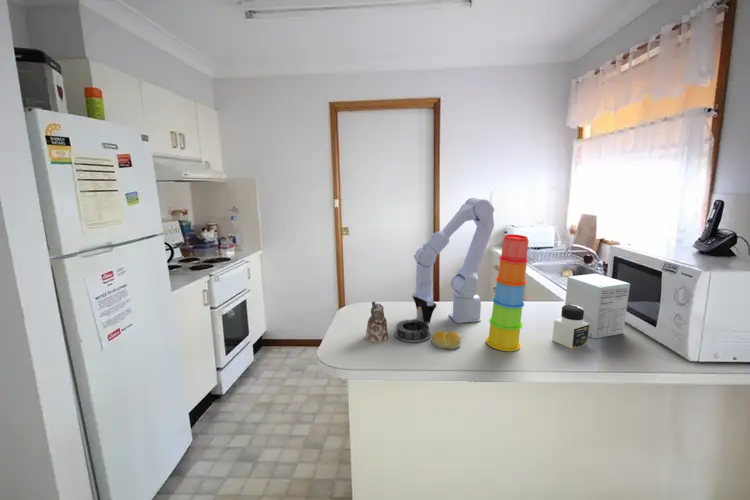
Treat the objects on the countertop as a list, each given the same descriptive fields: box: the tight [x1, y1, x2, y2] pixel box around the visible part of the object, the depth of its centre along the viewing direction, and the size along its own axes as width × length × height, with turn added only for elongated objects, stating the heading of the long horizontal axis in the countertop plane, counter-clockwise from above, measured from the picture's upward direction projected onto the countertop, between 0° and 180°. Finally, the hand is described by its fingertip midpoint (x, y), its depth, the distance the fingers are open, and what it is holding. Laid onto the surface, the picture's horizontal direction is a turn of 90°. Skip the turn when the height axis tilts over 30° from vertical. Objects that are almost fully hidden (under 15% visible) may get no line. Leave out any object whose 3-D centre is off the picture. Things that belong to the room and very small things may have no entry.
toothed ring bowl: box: [393, 319, 431, 344], centre depth 123 cm, size 12×12×3 cm
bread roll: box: [431, 330, 462, 350], centre depth 117 cm, size 8×9×4 cm
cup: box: [416, 307, 431, 325], centre depth 134 cm, size 5×5×5 cm
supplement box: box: [564, 273, 631, 339], centre depth 125 cm, size 13×13×18 cm
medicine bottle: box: [552, 304, 589, 350], centre depth 116 cm, size 7×7×12 cm
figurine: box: [365, 301, 389, 344], centre depth 120 cm, size 7×7×12 cm
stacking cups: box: [485, 233, 529, 352], centre depth 113 cm, size 10×10×35 cm
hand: (423, 318), depth 134 cm, fingers open, 7 cm apart
